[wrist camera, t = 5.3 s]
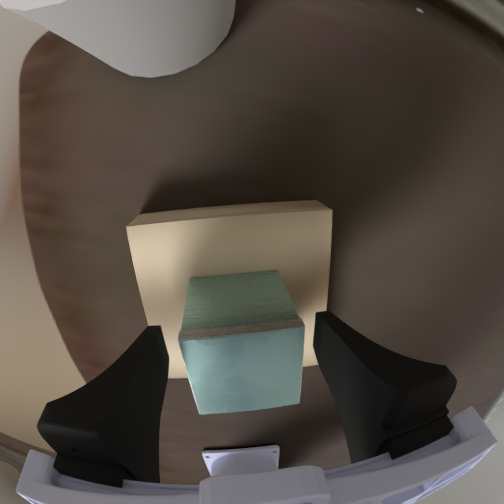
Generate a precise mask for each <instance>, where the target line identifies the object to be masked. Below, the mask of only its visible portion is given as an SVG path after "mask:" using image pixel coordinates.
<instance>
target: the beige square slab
mask: <svg viewBox="0 0 504 504" xmlns="http://www.w3.org/2000/svg"><path fill="white" fill-rule="evenodd" d="M126 229H127V234H128V240H129V245H130V250H131V255H132V260H133V264H134V269H135V273H136V278H137V282H138V286H139V290H140V295H141V299H142V302H143V306H144V310H145V314H146V317H147V321H148V325H149V326H154V325H161V329H162V332H163V336H164V340H165V344H166V347H167V351H168V354H169V373H168V378H188V375H187V372H186V368H185V365H184V361H183V358H182V354H181V350H180V346H179V342H178V334H179V331H181V326H182V320H183V314H184V308H185V302H186V297H187V291H188V285H189V280H190V278H193V277H204V276H215V275H226V274H237V273H247V272H257V271H267V270H277V269H278V271H279V273H280V275H281V278H282V280H283V282H284V284H285V287H286V289H287V291H288V293H289V295H290V298H291V300H292V302H293V304H294V307H295V309H296V311H297V313H298V316H299V318H302V320H303V322H304V325H305V338H304V354H303V367H305V366H312V365H317V364H318V362H317V359H316V356H315V352H314V349H313V336H314V326H315V314H316V312H320V311H326V309H327V298H328V286H329V272H330V256H331V237H332V210H331V209H330V208H328V207H327V206H325V205H324V204H322V203H321V202H319V201H318V200H304V201H285V202H268V203H253V204H239V205H226V206H214V207H202V208H192V209H181V210H172V211H162V212H153V213H145V214H139V215H138V216H137V217H136V218H135V219H134V220H133V221H132V222H131V223H130V224H128V225H127V226H126Z"/></svg>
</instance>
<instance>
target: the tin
mask: <svg viewBox="0 0 504 504" xmlns="http://www.w3.org/2000/svg"><path fill="white" fill-rule="evenodd" d="M304 338H305V325H304V322H303V320H302V318H299V316H298V313H297V311H296V309H295V307H294V304H293V302H292V300H291V298H290V295H289V293H288V291H287V289H286V287H285V284H284V282H283V280H282V278H281V275H280V273H279V271H278V269H277V270H267V271H257V272H247V273H237V274H226V275H215V276H204V277H193V278H190V280H189V285H188V291H187V297H186V302H185V308H184V314H183V320H182V326H181V331H179V334H178V342H179V346H180V350H181V354H182V358H183V361H184V365H185V368H186V372H187V375H188V379H189V382H190V386H191V389H192V392H193V395H194V399H195V402H196V405H197V408H198V411H199V414H216V413H230V412H241V411H250V410H259V409H267V408H274V407H281V406H287V405H293V404H299V403H300V392H301V381H302V368H303V354H304Z"/></svg>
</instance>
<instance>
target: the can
mask: <svg viewBox="0 0 504 504" xmlns="http://www.w3.org/2000/svg"><path fill="white" fill-rule="evenodd" d="M235 3H236V0H0V4H1V5H2V7H3V8H5V9H8V10H10V11H12V12H14V13H16V14H18V15H20V16H22V17H25V18H27V19H28V20H31V21H32V22H34V23H36V24H38V25H40V26H42V27H44V28H46V29H48V30H50V31H52V32H53V33H55V34H57V35H59V36H61V37H62V38H64V39H66V40H68V41H70V42H71V43H73V44H75V45H77V46H78V47H80V48H82V49H83V50H85V51H87V52H88V53H90V54H92V55H93V56H95V57H97V58H98V59H100V60H102V61H103V62H105V63H106V64H108V65H110V66H111V67H113V68H115V69H117V70H119V71H122V72H124V73H126V74H128V75H130V76H140V77H150V78H153V77H158V76H164V75H171V74H175V73H177V72H180V71H182V70H184V69H187V68H189V67H192V66H194V65H196V64H198V63H199V62H200V61H202V60H203V59H204V58H206V57H207V56H209V55H210V54H211V53H213V52H214V51H215V50H216V49H217V47H218V46H219V45H220V44H221V42H222V41H223V40H224V39H225V37H226V36H227V35H228V32H229V29H230V26H231V24H232V21H233V18H234V11H235Z"/></svg>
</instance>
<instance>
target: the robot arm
mask: <svg viewBox="0 0 504 504" xmlns="http://www.w3.org/2000/svg"><path fill="white" fill-rule="evenodd" d="M313 349H314V352H315V356H316V359H317V362H318V365H319V367H320V369H321V371H322V373H323V376H324V378H325V380H326V382H327V384H328V386H329V389H330V391H331V393H332V395H333V397H334V400H335V403H336V405H337V408H338V412H339V415H340V418H341V422H342V425H343V429H344V433H345V436H346V441H347V445H348V449H349V454H350V459H351V464H350V465H347V466H343V467H339V468H335V469H331V470H327V471H323V470H322V468H320V467H316V466H311V465H307V466H296V467H290V468H283V469H278V465H279V450H280V448H279V446H278V445H270V446H262V447H252V448H241V449H227V450H205V451H203V452H202V456H203V458H204V461H205V463H206V465H207V468H208V470H209V472H210V474H211V477H209V478H206V479H204V480H202V481H201V482H200V485H174V484H160V475H159V428H160V417H161V410H162V405H163V400H164V395H165V390H166V385H167V380H168V373H169V354H168V351H167V347H166V344H165V340H164V336H163V332H162V329H161V325H154V326H148V327H147V328H146V329H145V330H144V331H143V332H142V333H141V334H140V336H139V337H138V338H137V339H136V340H135V341H134V342H133V344H132V345H131V346H130V347H129V348H128V349H127V350H126V351H125V352H124V353H123V354H122V355H121V356H120V357H119V358H118V359H117V360H116V361H115V362H114V363H113V364H112V365H111V366H110V367H109V368H108V369H106V370H105V371H104V372H103V373H101V374H100V375H99V376H97V377H96V378H95V379H93V380H92V381H90V382H89V383H87V384H86V385H84V386H83V387H81V388H79V389H77V390H76V391H74V392H72V393H70V394H68V395H66V396H63V397H61V398H59V399H56V400H54V401H51V402H48V403H47V404H46V406H45V408H44V410H43V412H42V415H41V417H40V419H39V421H38V424H37V429H38V431H39V433H40V434H41V436H42V437H43V439H44V440H45V441H46V442H47V443H48V444H49V445H50V446H51V447H52V448H53V449H54V450H55V452H57V456H56V459H55V458H53V457H51V456H49V455H47V454H44V453H41V452H38V451H35V450H30V451H29V453H28V456H27V459H26V461H25V464H24V467H23V470H22V473H21V476H20V479H19V482H18V485H17V488H16V492H17V493H18V494H19V495H21V496H22V497H23V498H25V499H26V500H28V501H29V502H31V503H32V504H413V503H415V502H417V501H419V500H421V499H423V498H425V497H426V496H428V495H430V494H432V493H434V492H435V491H437V490H438V489H440V488H442V487H444V486H445V485H447V484H448V483H450V482H452V481H453V480H455V479H457V478H458V477H460V476H461V475H463V474H464V473H466V472H468V471H469V470H470V469H471V468H473V466H475V464H477V463H478V462H479V461H480V460H481V459H482V458H483V457H484V456H485V455H486V454H487V453H488V452H489V451H490V450H491V448H492V447H493V446H494V445H495V444H496V443H497V440H496V439H495V437H494V436H493V434H492V433H491V431H490V430H489V429H488V427H487V426H486V425H485V423H484V422H483V420H482V419H481V417H480V416H479V415H478V413H477V412H476V411H475V409H474V408H473V407H472V406H470V407H469V408H467V409H465V410H463V411H461V412H460V413H458V414H456V415H454V416H453V417H452V418H451V419H450V420H449V418H448V417H447V414H448V413H449V410H448V409H447V407H446V404H447V403H448V401H449V399H450V398H451V396H452V394H453V392H454V390H455V388H456V384H457V380H456V378H455V376H454V375H453V374H452V373H451V371H450V370H449V369H448V368H447V367H446V366H445V365H439V364H433V363H427V362H423V361H419V360H416V359H412V358H409V357H406V356H403V355H401V354H398V353H395V352H393V351H391V350H388V349H386V348H384V347H382V346H380V345H378V344H376V343H375V342H373V341H371V340H370V339H368V338H366V337H365V336H363V335H361V334H360V333H358V332H357V331H355V330H354V329H353V328H351V327H350V326H348V325H347V324H346V323H344V322H343V321H342V320H340V319H339V318H338V317H336V316H335V315H334V314H332V313H331V312H329V311H320V312H316V314H315V326H314V336H313Z"/></svg>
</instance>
